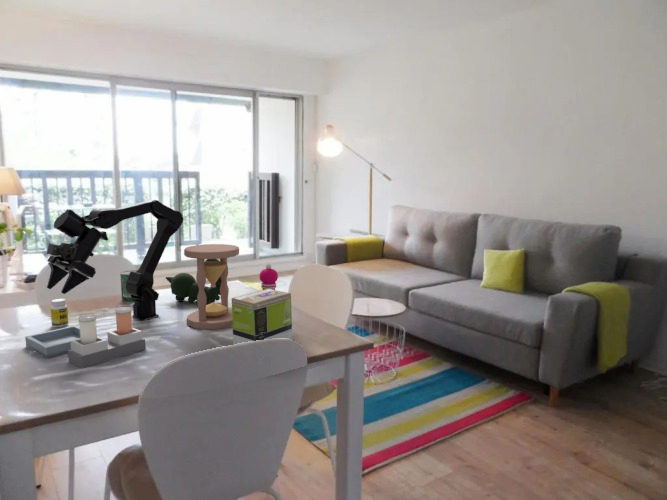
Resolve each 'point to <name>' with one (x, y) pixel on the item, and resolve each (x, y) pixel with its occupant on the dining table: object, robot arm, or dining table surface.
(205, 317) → the hourglass
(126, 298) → the green container
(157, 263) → the robot arm
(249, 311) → the tea box
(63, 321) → the supplement bottle
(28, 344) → the parts tray
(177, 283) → the toy figurine
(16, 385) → the dining table surface
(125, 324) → the marked fuse
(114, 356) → the block
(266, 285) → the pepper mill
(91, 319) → the cylinder
